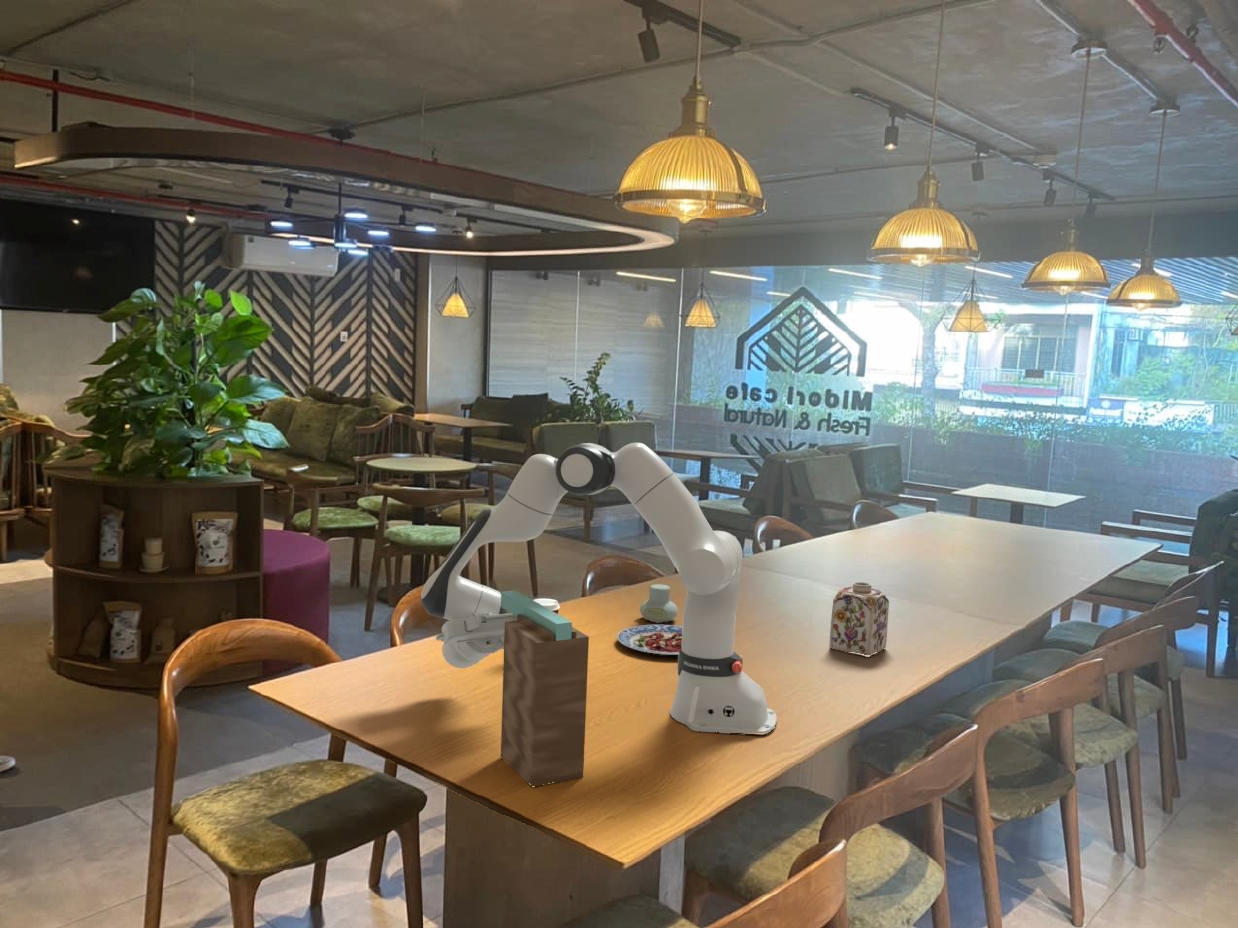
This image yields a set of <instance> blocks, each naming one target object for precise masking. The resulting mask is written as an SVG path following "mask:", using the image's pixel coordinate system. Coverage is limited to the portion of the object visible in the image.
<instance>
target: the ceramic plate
mask: <svg viewBox="0 0 1238 928" xmlns="http://www.w3.org/2000/svg"><path fill="white" fill-rule="evenodd" d="M616 637H617V640H618V642H620V644H622V645H623V646H625V647H627V648H630V649H632V650H636V651H639V652H641V653H642V652H643V653H646V652H647V653H646V654H650V653H653V654H652V655H655V654H660V655H659V656H663V655H678V654H679V650H680V649H681V644H682V626H680V625H670V624H645V625H644V624H643V625H636V626H632V627H628V628H625V629H623V630H621V631H619V632H618V634H617V635H616Z"/></svg>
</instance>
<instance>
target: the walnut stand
mask: <svg viewBox="0 0 1238 928" xmlns="http://www.w3.org/2000/svg"><path fill="white" fill-rule="evenodd" d="M589 640H590V636H589V635H587V634H585V633H584V632H582V631H579V630H578V629H576V628H574V627H573V626H572V637H571V639H567V640H559V641H555V640H554V634H553V633H551V632H549V631H548V630H546V629H545V628H543V627H541V626H540V625H538V624H536V623H535V622H533V621H531V620H530V619H528V618H526V617H525V616H523V615H521V614H517V621H508V622H505V631H504V649H503V665H502V667H503V668H502V669H503V671H502V672H503V673H502V702H501V730H500V731H501V737H500V741H501V742H500V758H501V757H502V758H503V759H504V760H505V761H506V762H507V763H508V764H509V765H510V766H511V767H512V768H513V769H514V772H515V773H516V774H517V775H519V776H520V777H521V778H522V779H523V780H524V781H525V782H526V783H527V782H528V783H530V784H531V785H532V786H538V785H543V784H548V783H552V782H558V783H562V782H561V781H563V782H567V781H571V780H576V779H580V778H584V768H585V767H584V766H585V763H584V762H585V746H586V745H585V741H586V740H585V739H586V719H587V716H586V715H587V694H588V691H587V690H588V671H589V669H588V668H589V646H590V645H589V642H590V641H589ZM502 758H501V759H502ZM503 759H502V760H503ZM504 760H503V761H504ZM505 761H504V762H505ZM506 762H505V763H506ZM507 763H506V764H507ZM508 764H507V765H508ZM509 765H508V766H509ZM510 766H509V767H510ZM511 767H510V768H511ZM512 768H511V769H512ZM513 769H512V770H513ZM528 783H527V784H528ZM548 785H549V784H548Z"/></svg>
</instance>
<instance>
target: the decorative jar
mask: <svg viewBox="0 0 1238 928" xmlns="http://www.w3.org/2000/svg"><path fill="white" fill-rule="evenodd" d="M889 608H890V601H889V598H887V596H886V595H885V594H884V593H883V592H882V591H880V590H879V589H875V588H872V584H871V583H869V582H862V581H859V582H853V583H852V586H845V587H842V588H840V589H839V590H838V592H837V594H835V596H834V598H833V600H832V608H831V619H830V628H829V629H830V630H829V645H828V646H829V647H828V648H829V649H830V648H832V649H831V650H833V649H836V650H835V651H837V650H841V651H846V652H855V653H860V654H864V655H871V654H873V653H875V652H879V651H880V652H882V651H884V650H885V649H886V648H887V647H886V646H887V641H888V640H887V639H888V624H889V610H890V609H889ZM884 648H885V649H884ZM883 649H884V650H883ZM881 650H882V651H881ZM841 651H840V652H841ZM846 652H845V653H846ZM880 652H879V653H880Z"/></svg>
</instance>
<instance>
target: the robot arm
mask: <svg viewBox="0 0 1238 928" xmlns="http://www.w3.org/2000/svg"><path fill="white" fill-rule="evenodd" d="M611 487H613V488H616V489H618V490H619V491H620V492H622V494H623V495H624V496H625V497H626V498H627V499H628V501H629V502H630V503H631V505H632V506H633V507H634V509H636V511H637V512H638V513H639V515H640V516H641V517H642V519H643V520H644V522H646V523H647V525H648V526H649V527H650V528H651V530H652V531H653V532H654V534H655V535H656V537H658V540H659V541H660V544H662V547H663V548H664V550H665V552H666V554H667V555H668V557H669V559H670V560H671V562H672V564H673V566H674V567H675V569H676V570H677V572H678V575H679V578H680V581H681V583H682V584H683V586H684V587H685V588H686V589H687V591H686V592H687V593H686V598H685V603H684V607H683V612H682V626H681V627H682V644H681V649H680V650H679V654H678V656H677V675H678V679H677V685H676V686H677V687H676V691H675V695H674V699H673V702H672V706H671V708H670V711H669V714H670V716H671V717H672V718H673V719H674V720H675V721H677V722H679V723H680V724H683V725H686V726H687V727H688V728H689V730H692V731H694V732H699V731H701V732H702V733H706V732H707V733H715V732H716V733H717V732H719V733H720V734H730V733H767V732H769V731H771V730H772V729H773V728H774V727H775V725H776V722H777V721H778V718H777V714H776V713H775V711H774V710H773V709H771V708H768V702H767V697H766V694H765V691H764V689H763V688H762V686H760V685H759V684H758V683H757V682H755V681H754V680H753V679H752V678H751V677H750V676H749V675H747V673H745V671H743V667H744V666H743V663H744V662H743V661H744V660H743V653H742V654H740V655H739V654H738V653H737V652H735V651H734V648H735V632H736V629H735V628H736V619H737V617H736V616H737V611H738V610H737V609H738V603H739V602H738V601H739V596H740V589H741V588H740V587H741V586H740V585H741V578H742V569H743V561H744V560H743V559H744V557H743V556H744V554H743V548H742V546H741V543H740V541H739V540H738V538H736V536H734V534H731V533H730V532H727V531H723V530H713V528H712V526H711V525H710V523H709V522H708V520H707V518H706V516H705V515H704V513H703V511H702V509H701V507H700V504H699V501H697V499H696V498H695V497H694V496H693V494H691V492H690V491H689V490H688V489H687V487H686V485H684V483H683V482H682V481H681V479H679V477H678V476H677V475H676V474H675V473H674V471H673V470H672V469H671V467H669V465H668V464H667V463H666V462H665V461H664V460H663V459H662V457H660V456H659V455H658V454H657V453H656V452H655V451H653V450H652V449H651V448H650V447H649V446H647V445H646V444H644V443H642V442H631V443H628V444H626V445H624V446H623V447H621V448H619V450H617V451H615V452H613V450H611V449H610V448H608V447H607V446H605V445H602V444H599V443H597V444H596V443H593V442H592V443H591V442H587V443H586V442H583V443H579V444H577V443H576V444H573V445H571V446H569V447H567V448H566V449H565V450H564V451H562V453H560V455H559V456H558V458H556V457H554V456H552V455H550V454H545V453H537V454H534V455H531V456H530V457H529V458H528V459H527V460H526V461H525V462H524V464H523V465H522V467H521V468H520V469H519V471H518V473H517V474H516V476H515V477H514V479H513V481H512V482H511V484H510V487H509V488H508V490H507V492H506V494H505V495H504V497H503V499H501V501H500V502H498V504H496V505H495V506H494V507H492V508H490V509H487V508H486V509H483V510H482V511H480V512H479V513H478V514H477V515H476V516H475V517H474V519H473V520H472V521H471V523H470V524H469V525H468V526H467V528H466V530H464V532H463V533H462V534H461V536H460V537H459V539H458V540H457V542H456V543H455V544H454V546H452V549H450V551H449V552H448V554H447V555H446V557H445V558H444V559H443V561H442V562H441V563H440V565H438V567H437V568H436V570H435V571H433V573H432V575H430V577H429V578H428V579H427V580H426V582H425V583H424V585H423V587H422V590H421V594H420V597H419V598H420V603H421V604H422V607H423V608H424V610H425V612H426V613H427V615H429V616H432V617H437V618H439V619H440V618H441V619H446V620H447V621H445V622H444V624H443V625H442V627H441V633H438V634H437V635H436V636H435V641H441V642H443V644H442V647H441V652H442V657H443V658H444V660H445V661H446V663H447V664H448V665H450V666H452V667H454V668H456V669H468V668H470V667H473V666H474V665H477V664H478V663H480V661H482V660H484V658H486V657H488V656H490V655H491V654H495V653H497V652H498V651H501V650H504V631H505V622H508V621H517V616H515V615H513V614H512V613H510V612H508V611H507V610H505V609H504V608H502V607H501V592H502V591H499V590H496V589H495V588H492V587H489V586H487V585H484V584H481V583H478V582H475V581H472V580H470V579H468V578H465V577H463V576H461V575H460V574H461V572H462V571H463V569H464V568H465V567H466V565H467V564H468V562H469V561H470V560H471V559H472V557H473V556H474V554H475V553H476V551H477V550H478V549H479V548H480V547H482V546H484V545H486V544H489V543H498V542H499V543H501V542H503V543H505V542H506V543H521V542H527V541H531V540H534V539H535V538H537V537H539V536H541V535H542V534H543V532H544V531H545V529H546V528H547V527H548V526H549V523H550V521H552V520H551V519H552V517H553V515H554V513H555V511H556V509H557V507H558V505H559V503H560V502H561V500H562V498H563V497H564V496H565V495H566V494H567V493H570V494H573V495H574V496H575V495H576V496H587V495H588V496H592V495H598V494H600V493H602V492H604V491H606V490H608V489H610V488H611ZM507 612H508V613H507ZM777 723H778V722H777ZM776 726H777V725H776ZM775 728H776V727H775ZM701 732H700V733H701ZM716 733H715V734H716ZM719 733H717V734H719Z"/></svg>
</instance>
